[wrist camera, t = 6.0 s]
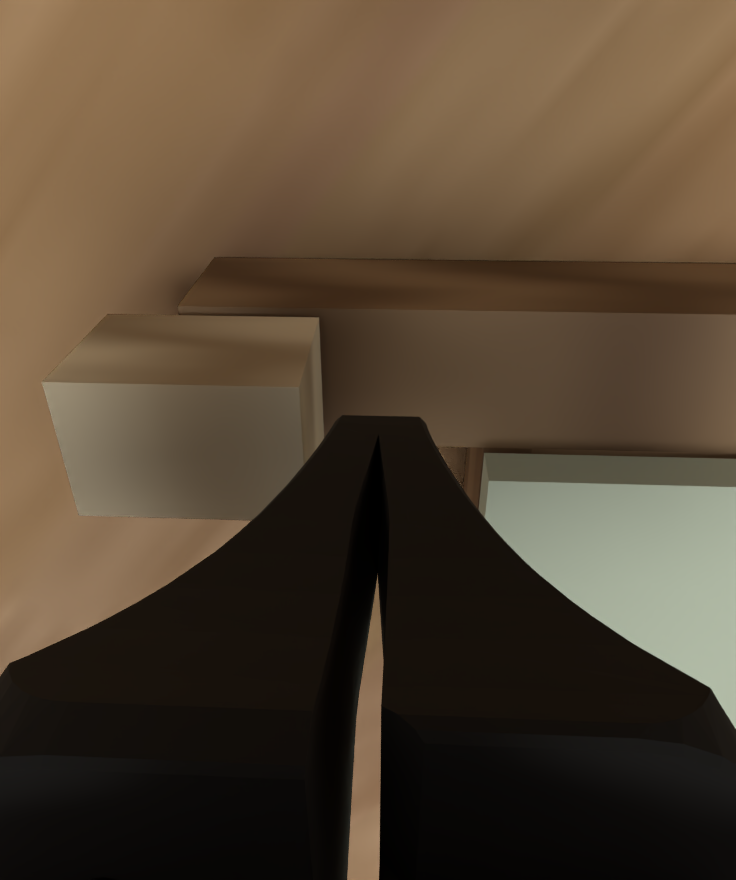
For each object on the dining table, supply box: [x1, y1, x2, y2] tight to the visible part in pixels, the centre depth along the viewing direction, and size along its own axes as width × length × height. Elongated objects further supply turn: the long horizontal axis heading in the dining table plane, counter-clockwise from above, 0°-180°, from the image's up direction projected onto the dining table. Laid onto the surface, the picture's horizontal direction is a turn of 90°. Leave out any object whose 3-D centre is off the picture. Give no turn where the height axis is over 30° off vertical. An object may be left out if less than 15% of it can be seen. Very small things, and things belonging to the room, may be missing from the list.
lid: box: [479, 453, 736, 729], centre depth 18 cm, size 12×18×3 cm, turn 0°
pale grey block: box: [42, 314, 324, 520], centre depth 13 cm, size 4×3×3 cm, turn 90°
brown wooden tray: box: [178, 258, 736, 510], centre depth 20 cm, size 18×21×3 cm
